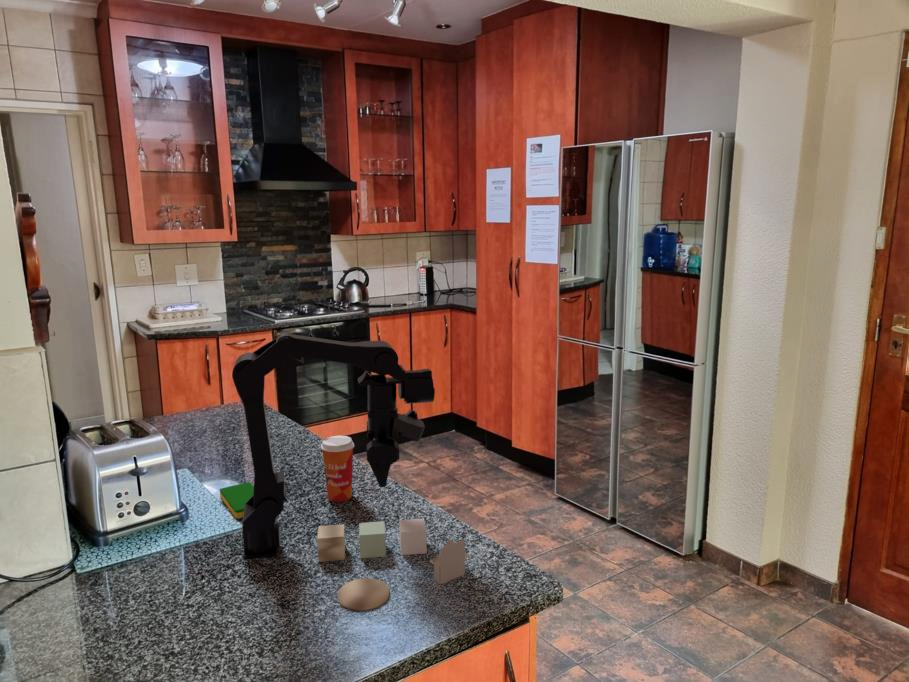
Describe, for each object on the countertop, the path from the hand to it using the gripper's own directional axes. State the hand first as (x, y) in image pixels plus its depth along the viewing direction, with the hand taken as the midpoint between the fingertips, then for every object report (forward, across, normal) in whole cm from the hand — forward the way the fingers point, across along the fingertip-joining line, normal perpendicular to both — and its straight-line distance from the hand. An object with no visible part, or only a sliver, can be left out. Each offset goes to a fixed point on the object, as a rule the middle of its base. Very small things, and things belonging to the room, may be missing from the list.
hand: (382, 477), depth 134 cm
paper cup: (+13, +19, +10) cm, 25 cm away
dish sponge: (+14, +19, +32) cm, 39 cm away
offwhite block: (+12, -6, -6) cm, 15 cm away
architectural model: (+13, -18, -12) cm, 25 cm away
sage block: (+13, -7, +2) cm, 14 cm away
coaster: (+13, -22, +4) cm, 25 cm away
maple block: (+13, -7, +10) cm, 18 cm away
